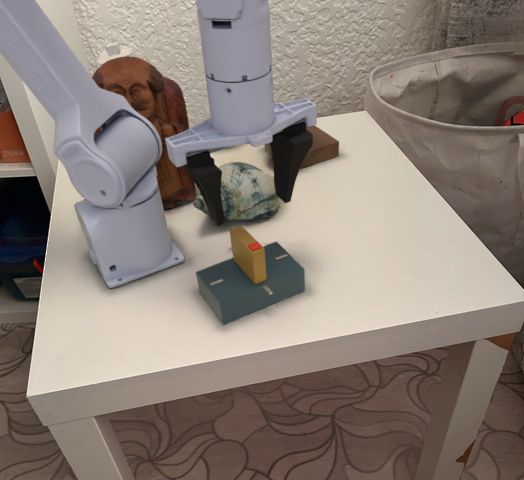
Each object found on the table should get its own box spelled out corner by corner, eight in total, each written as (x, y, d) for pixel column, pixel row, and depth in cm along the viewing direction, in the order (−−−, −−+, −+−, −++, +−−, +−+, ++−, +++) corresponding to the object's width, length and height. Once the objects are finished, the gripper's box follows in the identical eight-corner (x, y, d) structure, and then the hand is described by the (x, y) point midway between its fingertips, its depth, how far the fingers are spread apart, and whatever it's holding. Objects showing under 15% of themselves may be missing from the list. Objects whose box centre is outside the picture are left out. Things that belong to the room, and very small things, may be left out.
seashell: (287, 223, 72) (197, 240, 70) (273, 176, 74) (185, 192, 72) (293, 194, 66) (194, 211, 64) (277, 144, 68) (182, 160, 66)
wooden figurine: (117, 222, 71) (73, 78, 58) (111, 198, 76) (69, 59, 63) (204, 202, 73) (181, 59, 60) (193, 180, 78) (170, 41, 65)
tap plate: (229, 334, 56) (226, 311, 54) (193, 285, 62) (189, 262, 59) (312, 298, 59) (312, 275, 56) (271, 255, 65) (269, 233, 62)
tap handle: (233, 260, 59) (229, 227, 56) (244, 255, 60) (241, 222, 57) (255, 285, 56) (252, 251, 53) (267, 280, 57) (264, 246, 54)
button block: (279, 176, 77) (278, 149, 74) (252, 153, 82) (250, 127, 79) (338, 156, 80) (340, 129, 77) (309, 135, 85) (309, 109, 82)
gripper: (176, 107, 42) (202, 252, 52) (336, 63, 46) (331, 205, 56) (146, 79, 46) (174, 217, 56) (294, 41, 50) (296, 176, 60)
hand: (250, 209), depth 56 cm, fingers open, 7 cm apart
